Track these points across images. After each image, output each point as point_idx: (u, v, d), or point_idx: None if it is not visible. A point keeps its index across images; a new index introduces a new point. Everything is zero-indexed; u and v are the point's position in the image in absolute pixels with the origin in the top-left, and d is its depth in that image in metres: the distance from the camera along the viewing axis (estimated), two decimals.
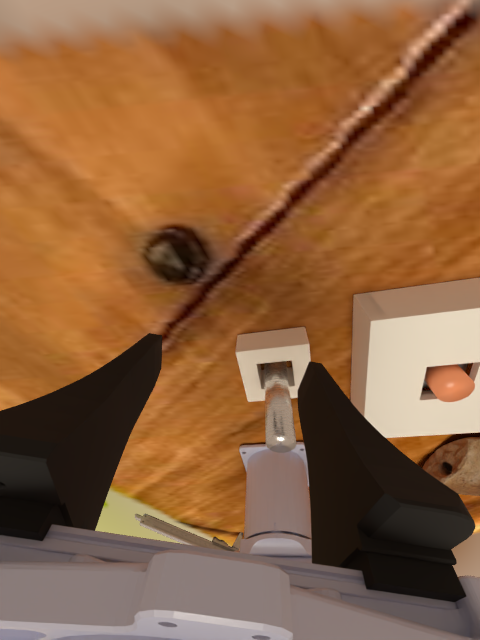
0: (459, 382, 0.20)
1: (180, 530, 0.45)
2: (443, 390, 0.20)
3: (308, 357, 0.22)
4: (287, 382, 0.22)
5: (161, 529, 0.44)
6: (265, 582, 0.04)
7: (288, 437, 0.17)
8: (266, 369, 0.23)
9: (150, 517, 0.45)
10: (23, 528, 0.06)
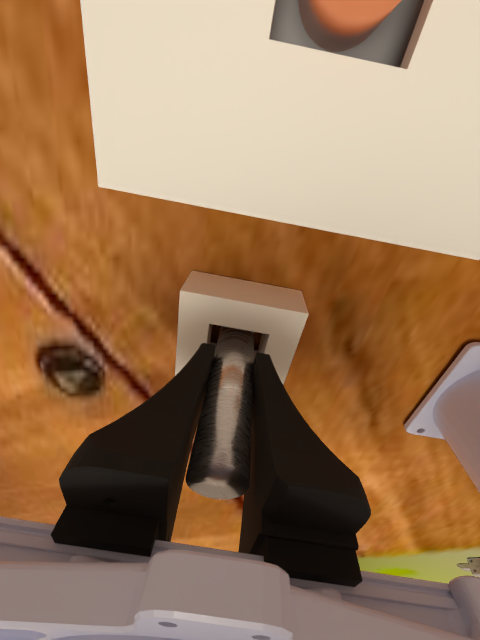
0: None
1: None
2: None
3: (209, 298, 0.12)
4: (226, 354, 0.12)
5: None
6: (265, 582, 0.04)
7: (199, 470, 0.08)
8: None
9: (478, 559, 0.30)
10: (135, 545, 0.06)
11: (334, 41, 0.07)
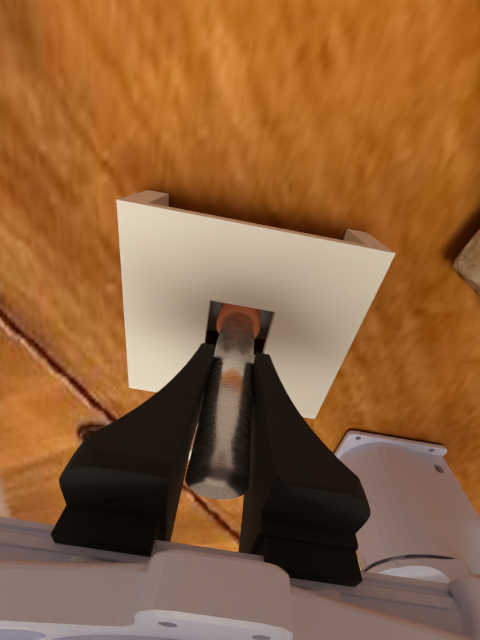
0: None
1: None
2: None
3: None
4: (226, 354, 0.12)
5: None
6: (265, 582, 0.04)
7: (199, 470, 0.08)
8: None
9: None
10: (135, 545, 0.06)
11: None
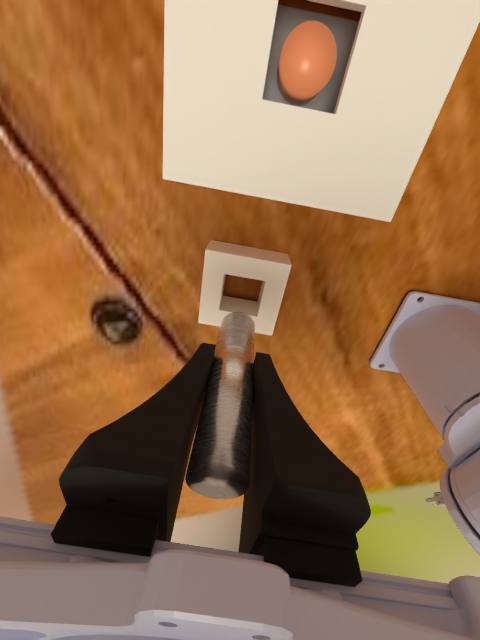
0: (292, 53, 0.12)
1: None
2: (302, 82, 0.13)
3: (224, 255, 0.18)
4: (226, 354, 0.12)
5: None
6: (265, 582, 0.04)
7: (199, 470, 0.08)
8: None
9: None
10: (135, 545, 0.06)
11: (295, 102, 0.15)
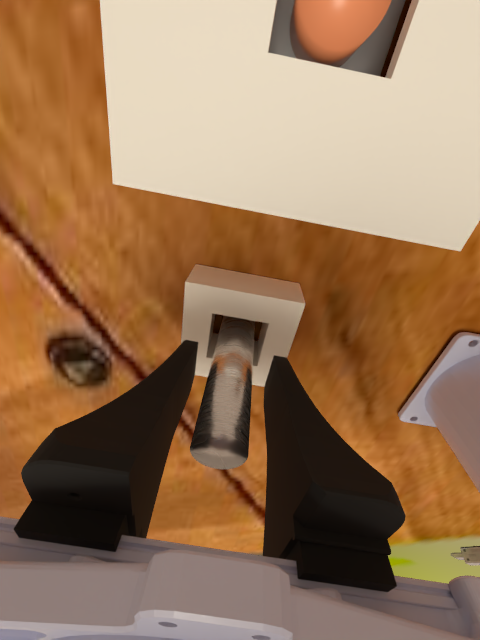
0: None
1: None
2: (335, 25, 0.08)
3: (212, 289, 0.13)
4: (228, 341, 0.13)
5: None
6: (265, 582, 0.04)
7: (202, 439, 0.09)
8: None
9: (471, 549, 0.31)
10: (99, 539, 0.06)
11: None
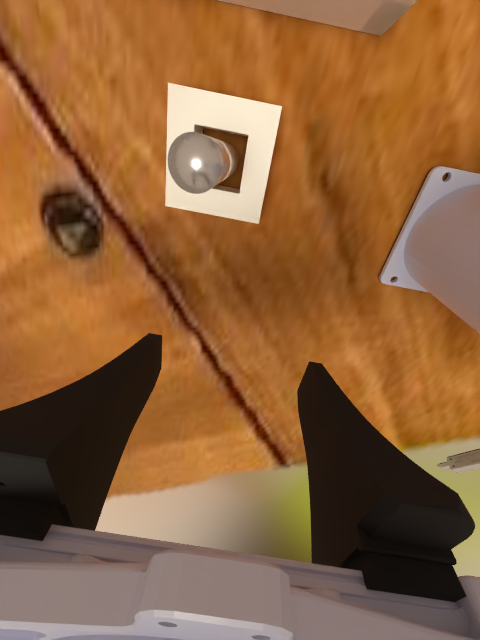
0: None
1: None
2: None
3: (194, 91, 0.14)
4: None
5: None
6: (265, 582, 0.04)
7: (178, 143, 0.10)
8: None
9: (457, 456, 0.32)
10: (23, 528, 0.06)
11: None
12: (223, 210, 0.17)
